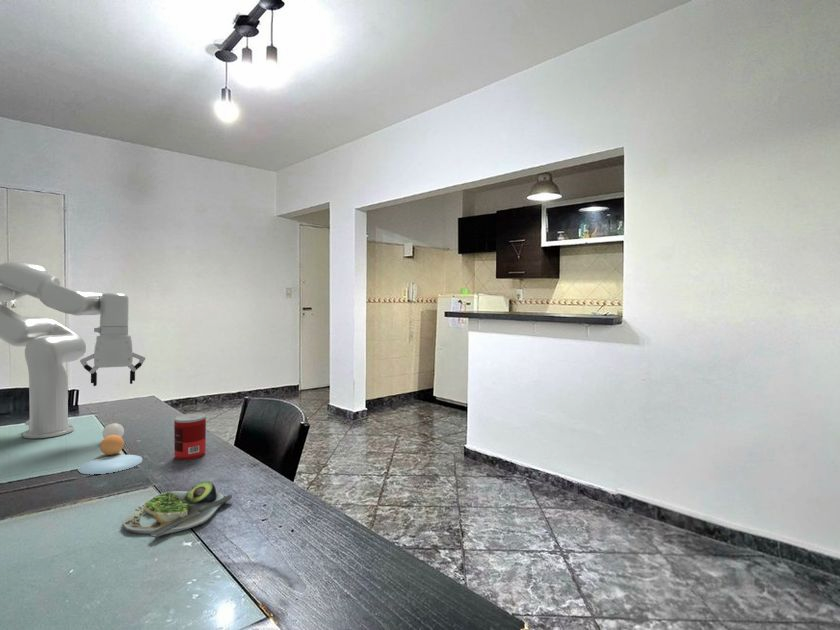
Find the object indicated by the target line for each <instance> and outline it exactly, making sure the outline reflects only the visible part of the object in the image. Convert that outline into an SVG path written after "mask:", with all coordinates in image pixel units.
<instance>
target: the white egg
mask: <svg viewBox="0 0 840 630" xmlns="http://www.w3.org/2000/svg"><path fill="white" fill-rule="evenodd" d="M124 433H125V429H124V427H123V425H122V424H120V423H118V422H114V423H113V422H112V423H109V424H107V425H106V426H105V427H104V428H103V429H102V434H101V435H102V438H103V439H104V438H105V437H107V436H110V435H118V436H120V437H121V438H123V437H124V436H123V435H124Z"/></svg>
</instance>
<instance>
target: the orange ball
mask: <svg viewBox="0 0 840 630" xmlns="http://www.w3.org/2000/svg"><path fill="white" fill-rule="evenodd" d="M124 445H125V442H124V439H123V437H120V436H118V435H110V436H107V437H105V438H103V439H101V442H100V445H99V447H100V451H101V452H102V454H104V455H107V456H115V455H116V454H117V455H118V454H119V453H120V451H122V450H123V448H124Z"/></svg>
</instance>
